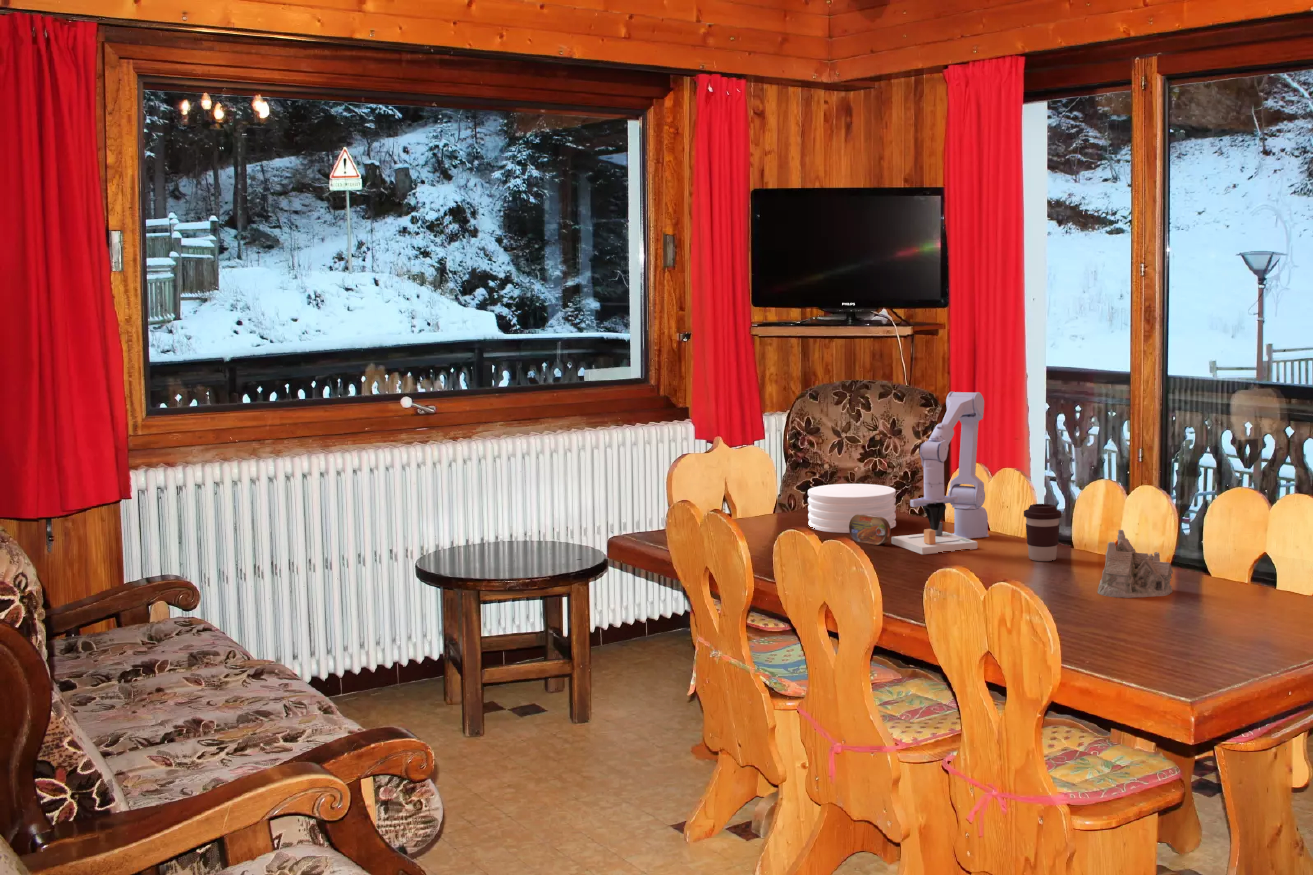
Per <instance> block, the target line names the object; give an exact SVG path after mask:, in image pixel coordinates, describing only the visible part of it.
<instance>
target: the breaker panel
mask: <svg viewBox="0 0 1313 875" xmlns="http://www.w3.org/2000/svg"><path fill="white" fill-rule="evenodd" d="M942 534H943V535H941V536H935V544H927V543H924V533H917V534H916V533H915V534H909V535H898V536H896V535H895V536H890V538H891V544H892V545H895V546H897V547H900V548H903V549H906V550H909V551H911V552H915V553H917V554H920V555H931V554H939V553H938V552H942V553H944V552H943V551H951V552H956V551H955V550H961V549H970V550H976V549H978V541H976V540H972V539H966V538H963V537H960V536H957V535H954V534H951V533H950V532H947V531H942ZM961 551H962V550H961Z"/></svg>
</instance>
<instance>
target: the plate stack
mask: <svg viewBox="0 0 1313 875" xmlns="http://www.w3.org/2000/svg"><path fill="white" fill-rule="evenodd" d="M895 495H896V488H894V487H893V486H892V487H891V486H887V485H884V484H883V485H882V484H874V483H873V484H872V483H836V484H825V485H818V486H813V487H810V488H809V489H808V490H807V496H808V498H807V503H808V506H807V510H808V514H807V518H808V525H809V526H810V527H813V528H812V529H813V530H817V531H822V532H827V533H838V534H839V533H841V534H850V532H849V523H850V520H851V519H852V517H853V516H855V515H870V516H877V517H883V518H885V519H886V520H887V521H888V523H889V525H890V530H891V529H893V528H895V527H896V526H897V521H896V518H897V516H896V514H897V513H896V510H897V509H896V508H897V507H896V506H897V505H896V503H897V502H896V500H897V499H896V496H895ZM809 526H808V527H809ZM810 527H809V528H810ZM814 528H815V529H814Z"/></svg>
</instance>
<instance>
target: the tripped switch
mask: <svg viewBox="0 0 1313 875" xmlns="http://www.w3.org/2000/svg"><path fill="white" fill-rule="evenodd" d="M923 534H924V543H927V544H935V530H932V529H931V528H926V529H925V528H924V529H923Z"/></svg>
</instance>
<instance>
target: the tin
mask: <svg viewBox="0 0 1313 875" xmlns="http://www.w3.org/2000/svg"><path fill="white" fill-rule="evenodd" d="M849 532H850V533H849V534H850V537H851V538H852V540H854V541H855V542H856V543H862V544H867V545H868V544H869V545H873V546H880V545H884V544H886V543H887V542H888V541H889V540H890V538H891V529H890V525H889V523H888V521H887V520H886V519H885V518H883V517H877V516H870V515H855V516H853V517H852V519H851V520H850V523H849Z"/></svg>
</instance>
